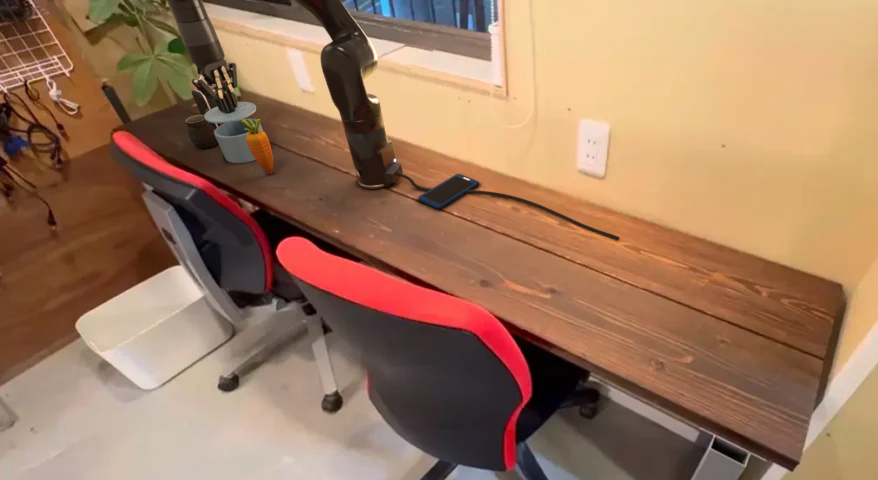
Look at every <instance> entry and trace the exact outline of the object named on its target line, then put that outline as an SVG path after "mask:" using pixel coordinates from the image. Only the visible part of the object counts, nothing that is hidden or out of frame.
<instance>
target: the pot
mask: <svg viewBox="0 0 878 480" xmlns="http://www.w3.org/2000/svg"><path fill="white" fill-rule="evenodd" d="M249 119H250V120H251V121H252V122H253V123H254V125H255V127H256V120H257V119H256V118H244V120H246V121H247V120H249ZM242 120H243V119H241V120H238V121H234V122H228V123H221V124H222V125H221V126H219V127H217V128H216V130H215V131H214V134H215V137H216V139H217V143H218V145H219V148H220V150H221V152H222V154H223V156H224V158H225V160H226V161H227V162H229V163H231V164H246V163H250V162H254V161H256V159H255V158H254V156H253V155H252V152H251V150H250V148H249V146H248V144H247V141H246V136H247V134H248V133H250V132H248V131H246V130H244V129H245V128H247V127H246V126H245V125H244V124H243V123H242ZM247 122H248V121H247ZM248 123H249V122H248ZM249 124H250V123H249ZM250 125H251V124H250ZM251 126H252V125H251ZM258 130H259V131H263V132H265V131H264V129H263V126H262V124H261V122H260V123H259V129H258Z"/></svg>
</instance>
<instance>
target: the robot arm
mask: <svg viewBox="0 0 878 480" xmlns="http://www.w3.org/2000/svg"><path fill="white" fill-rule="evenodd" d="M293 1H294V2H295V3H296V4H298V5H299V6H301V7H302V8H303V9H304V10H306V11H307V12H308V13H310V15H312V16H313V17H314V18H315V19H316V20H317V21H318V22H319V23H320V25H321V26H322V27H323V29H324V30H325V32H326V33H327V35H328V36H329V38H330V39H331V42H328V43H327V44H325V45H324V46H323V47H322V49H321V51H320V57H319V59H320V66H321V71H322V74H323V77H324V80H325V83H326V87H327V90H328V92H329V96H330V99H331V101H332V103H333V104H334V106H335V107H336V109H337V110H338V113H339V116H340V120H341V123H342V127H343V130H344V133H345V139H346V141H347V145H348V149H349V152H350V156H351V160H352V164H353V166H352V170H353V172H354V173H355V174H356V179H357V183H358V185H359V186H360V187H361V188H363V189H368V190H377V189H381V188H390V187H391V186H392V185H393V184H394V183H395V182H397V180H398V179H399V178H400V177H401V178H404V179H405V180H406V181H409V182H410V183H411V185H412V186H413V187H414V188H416V189H418V190H420V191H423V192H427V191H429V190H431V189H432V188H430V187H429V188H427V187H423V186H421V185H418V184H417V183H416V182H415V181H414V180H413V179H412V178H411V177H410V176H408V175H406V174H404V173H403V167H402V164H401V163H397V158H396V154H395V149H394V143H393V141H392V140H391V139H389V138H388V133H387V129H386V125H385V119H384V115H383V111H382V105H381V102H380V99H379V98H378V96H376V95H375V94H371V93H367V90H366V86H365V82H364V80H366V79H367V78H369V77H370V76H371V75H372V74H374V72H375V71H376V70H377V67H378V62H379V60H378V55H377V51H376V49H375V47H374V46H373V43H372V42H371V40H370V39H369V37H368V36H367V35H366V33H365V32H364V31H363V29H362V27H360V25H359V24H358V23H357V21H356V20H355V19H354V17H353V16H352V15H351V13H350V12H349V10H348V9H347V8H346V6H345V5H344V3H343V2H342V1H341V0H293ZM165 2H166V3H167V5H168V7H169V9H170V12H171V14H172V16H173V19H174V21H175V23H176V26H177V30H178V33H179V35H180V38H181V40H182V43H183V44H184V47H185V50H186V51H187V54H188V56H189V58H190V60H191V62H192V63H193V64H194V65H195V66H196V72H197V76H196V78H192V79H191V84H192V85H193V86H194V87H195V89H198V90H199V91H200V92H201V93H202V94H203V95H204V96H205V97H206V98H208V99H214V100H215V102H216V104H217V106H218V109H219V110H220V111H221V112H222V113H228V112H229V108H228V106H227V103H226V101H225V99H224V98H223V94H222V91H224V90H226V91H228V93H229V95H230V98H231V100H232V103H233V105H234V108H236V107H237V106H238V105H237V102H238V101H237V98H236V96H235V89H236V88H238V86H239V85H238V74H237V73H238V71H237V64H236V63H235V62H227V61H226V59H225V52H224V50H223V47H222V45H221V44H222V43H221V42H220V39H219V36H218V35H217V32H216V30H215V28H214V25H213V23H212V21H211V19H210V17H209V15H208V12H207V10H206V7H205V5H204V2H203V0H165ZM447 190H449V189H447ZM466 194H477V195H478V194H480V195H489V196H494V197H495V196H497V197H501V198H506V199H511V200H514V201H518V202H521V203H524V204H526V205H530V206H533V207H535V208H538V209H541V210H543V211H545V212H547V213H549V214H551V215H554V216H556V217H558V218H561V219H562V220H565V221H567V222H569V223H571V224H573V225H576V226H578V227H581V228H582V229H585V230H588V231H590V232H593V233H596V234H598V235H602V236H604V237H608V238H610V239H614V240H617V241H619V240H620V238H621V237H620V236H618V235H615V234H613V233H610V232H607V231H603V230H601V229H597V228H594V227H592V226H590V225H587V224H585V223H582V222H580V221H577V220H575V219H573V218H571V217H568V216H567V215H564V214H562V213H560V212H558V211H555V210H553V209H551V208H549V207H547V206H544V205H541V204H539V203H536V202H534V201H531V200H527V199H525V198H522V197H518V196H514V195H510V194H506V193H501V192H495V191H487V190H479V189H478V190H476V189H472V190H466Z"/></svg>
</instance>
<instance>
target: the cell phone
mask: <svg viewBox="0 0 878 480" xmlns="http://www.w3.org/2000/svg"><path fill="white" fill-rule="evenodd" d="M479 185H480V182H479V181H478V180H476V179H474V178H471V177H469V176H467V175H464V174H461V173H456V174H454V175H453V176H451V177H449V178H447V179H445V180H444V181H442V182H440V183H439V184H437V185H436V186H434V187H433V188H430V189H431V190H429V191H425V192H424V193H422V194H421V195H419V196H418V200H419V202H422V203H424V204H425V205H428V206H430V207H432V208H434V209H436V210H443V209H444V208H445V207H447V206H449V205H450V204H451V203H453V202H455V201H456V200H458V199H459V198H461V197H463V196H464V195H466V194H467V193H466V190H475V188H477V187H478V186H479ZM447 189H449V190H447Z"/></svg>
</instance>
